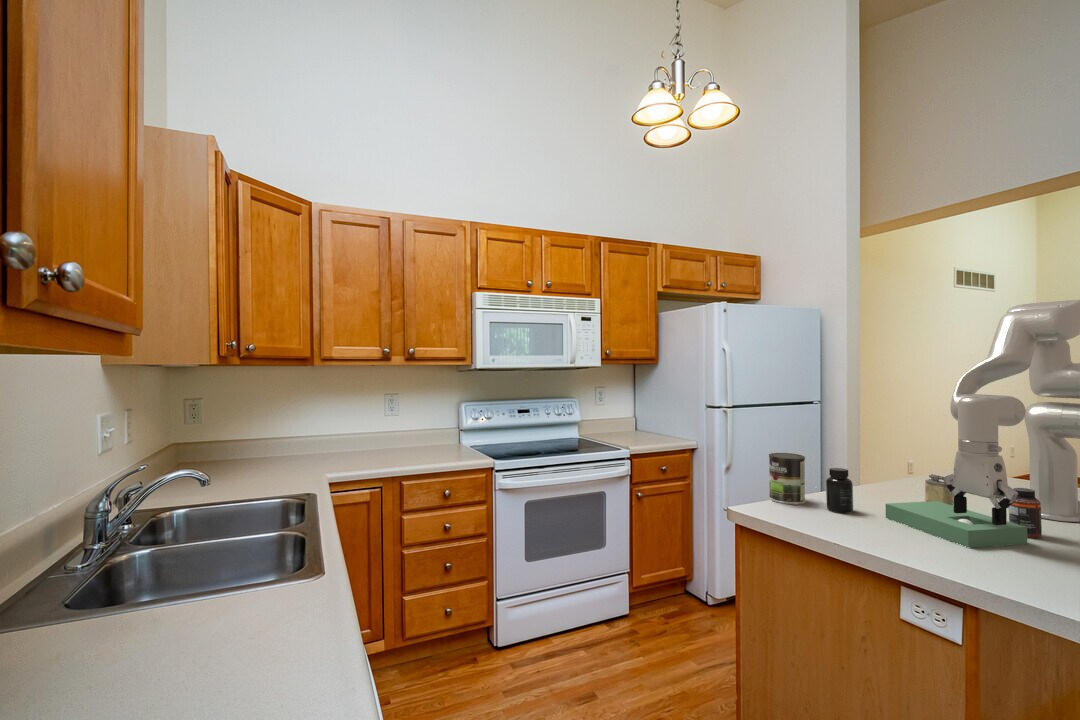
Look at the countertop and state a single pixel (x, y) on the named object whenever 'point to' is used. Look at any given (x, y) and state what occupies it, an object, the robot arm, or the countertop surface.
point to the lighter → (937, 490)
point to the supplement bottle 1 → (839, 491)
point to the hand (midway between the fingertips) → (979, 518)
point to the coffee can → (787, 478)
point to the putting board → (956, 524)
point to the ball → (965, 521)
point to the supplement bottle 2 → (1026, 512)
